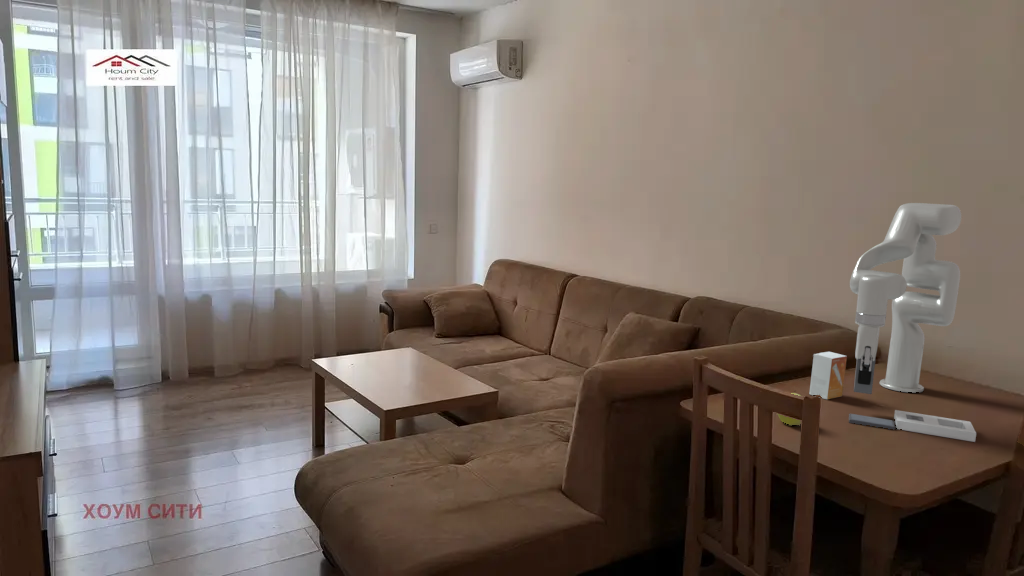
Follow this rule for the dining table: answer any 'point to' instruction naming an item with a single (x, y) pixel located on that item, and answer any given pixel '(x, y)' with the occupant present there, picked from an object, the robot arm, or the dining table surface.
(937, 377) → the dining table surface
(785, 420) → the apple
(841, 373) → the small box
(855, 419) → the phone
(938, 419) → the outlet plate
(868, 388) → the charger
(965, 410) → the dining table surface
